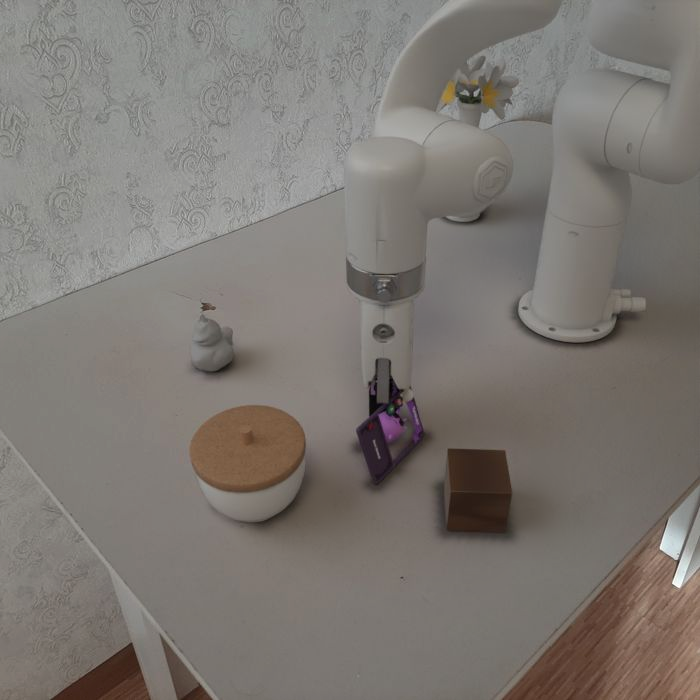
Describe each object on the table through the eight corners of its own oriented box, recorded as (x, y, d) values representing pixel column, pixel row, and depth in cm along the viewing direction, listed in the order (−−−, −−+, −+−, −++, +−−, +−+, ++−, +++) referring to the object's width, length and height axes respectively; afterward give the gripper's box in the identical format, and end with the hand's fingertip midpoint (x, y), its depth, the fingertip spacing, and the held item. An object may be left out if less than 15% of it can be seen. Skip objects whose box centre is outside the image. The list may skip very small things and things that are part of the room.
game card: (364, 431, 69) (415, 383, 74) (325, 423, 72) (377, 378, 78) (382, 486, 72) (430, 436, 77) (343, 477, 75) (392, 429, 81)
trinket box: (205, 463, 75) (192, 395, 69) (307, 456, 76) (302, 387, 70) (196, 546, 66) (180, 476, 61) (311, 537, 67) (306, 467, 61)
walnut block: (498, 489, 72) (505, 449, 68) (505, 533, 67) (512, 493, 64) (443, 487, 72) (447, 447, 69) (446, 531, 67) (450, 491, 64)
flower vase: (511, 196, 126) (530, 47, 111) (483, 243, 112) (501, 80, 97) (440, 185, 130) (449, 39, 115) (405, 229, 117) (411, 70, 102)
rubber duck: (180, 369, 88) (170, 315, 83) (217, 342, 92) (209, 290, 87) (213, 384, 85) (204, 330, 80) (249, 356, 90) (243, 303, 85)
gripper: (426, 316, 62) (418, 465, 73) (424, 234, 74) (417, 373, 85) (340, 314, 62) (345, 462, 73) (351, 233, 74) (354, 371, 85)
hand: (383, 414), depth 79 cm, fingers closed
